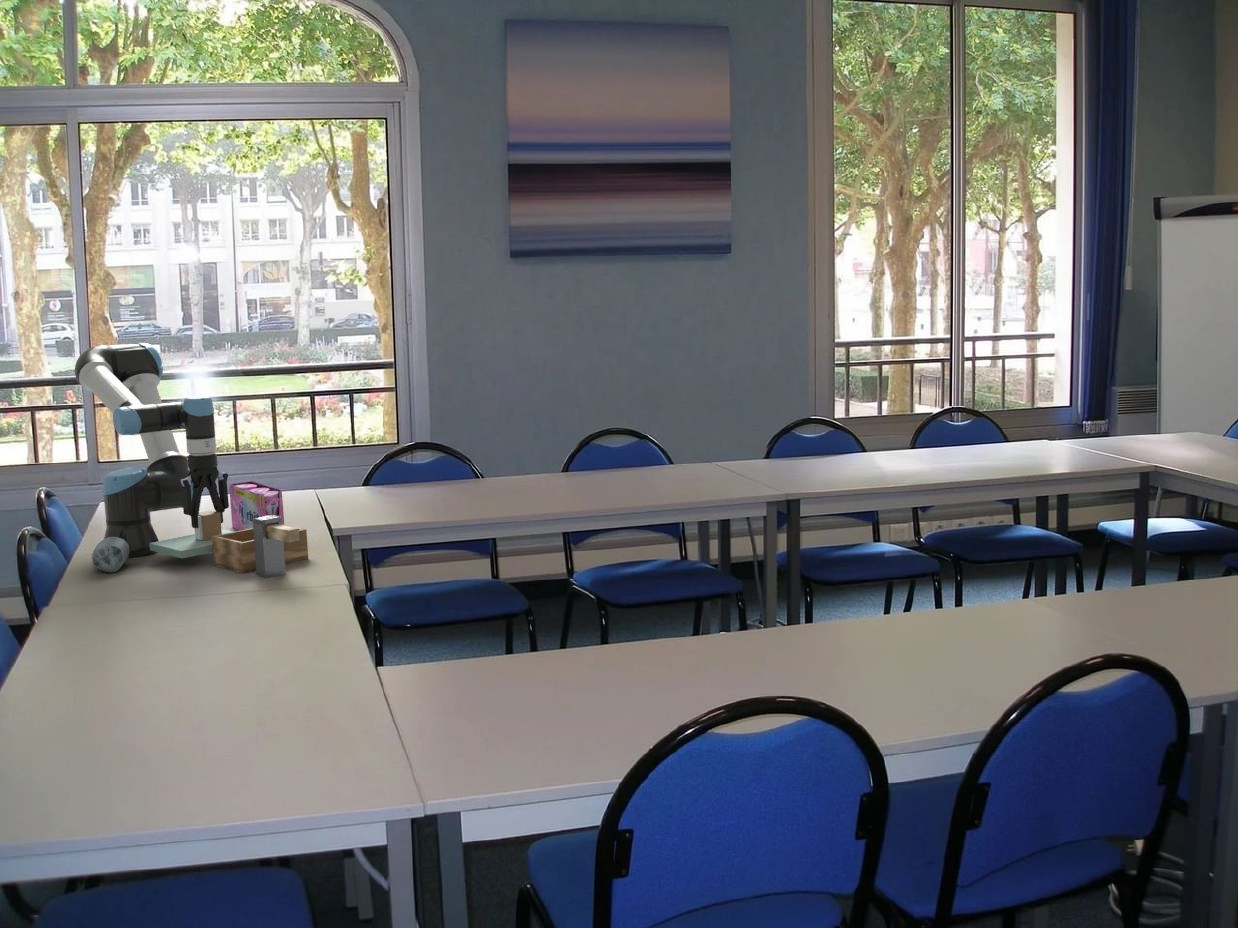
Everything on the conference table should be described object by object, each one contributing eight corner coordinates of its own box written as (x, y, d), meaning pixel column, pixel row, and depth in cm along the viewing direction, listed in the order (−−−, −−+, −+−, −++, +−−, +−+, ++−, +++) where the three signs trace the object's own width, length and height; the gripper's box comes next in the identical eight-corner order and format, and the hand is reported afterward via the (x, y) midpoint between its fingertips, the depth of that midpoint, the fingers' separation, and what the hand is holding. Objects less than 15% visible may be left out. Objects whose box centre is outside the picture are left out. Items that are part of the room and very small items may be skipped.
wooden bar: (254, 534, 318) (254, 523, 318) (264, 532, 320) (264, 521, 320) (289, 542, 308) (288, 530, 308) (299, 540, 311) (298, 528, 310)
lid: (149, 550, 334) (147, 517, 333) (222, 535, 351) (219, 504, 349) (181, 558, 324) (178, 524, 322) (254, 543, 340) (252, 511, 339)
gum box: (288, 536, 364) (285, 490, 361) (262, 540, 359) (259, 494, 356) (256, 523, 382) (253, 480, 380) (231, 527, 377) (227, 483, 375)
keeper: (256, 575, 317) (252, 518, 315) (276, 571, 322) (272, 514, 319) (265, 578, 315) (261, 520, 312) (285, 573, 319) (281, 516, 317)
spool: (129, 561, 322) (110, 528, 322) (95, 580, 320) (76, 547, 321) (144, 561, 335) (126, 530, 335) (112, 579, 334) (94, 547, 334)
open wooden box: (214, 565, 329) (211, 536, 328) (278, 551, 344) (276, 523, 343) (243, 573, 320) (241, 543, 319) (308, 558, 335) (306, 529, 334)
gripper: (179, 459, 325) (186, 545, 329) (239, 450, 339) (245, 533, 343) (164, 456, 330) (171, 541, 334) (223, 448, 344) (230, 529, 348)
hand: (208, 537), depth 338 cm, fingers closed on lid, 5 cm apart
